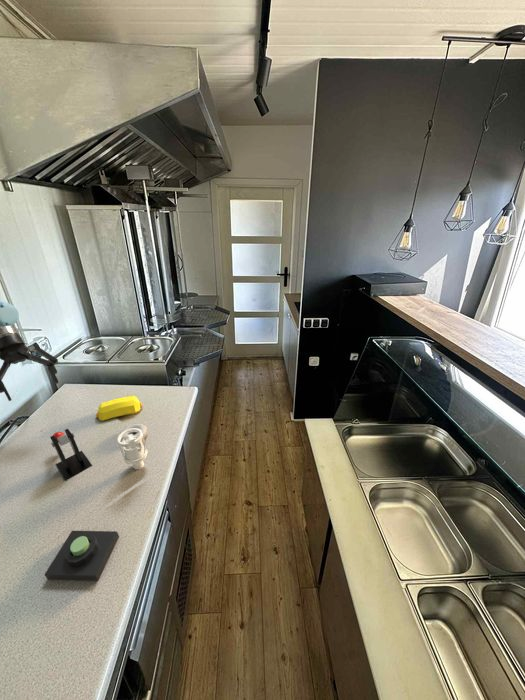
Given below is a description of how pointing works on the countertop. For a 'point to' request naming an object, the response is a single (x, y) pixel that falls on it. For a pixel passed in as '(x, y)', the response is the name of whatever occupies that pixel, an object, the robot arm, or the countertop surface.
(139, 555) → the countertop surface
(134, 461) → the white tall carved piece
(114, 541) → the black base plate
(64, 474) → the bracket
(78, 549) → the button
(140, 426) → the donut
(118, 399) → the yellow bar
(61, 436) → the lever
